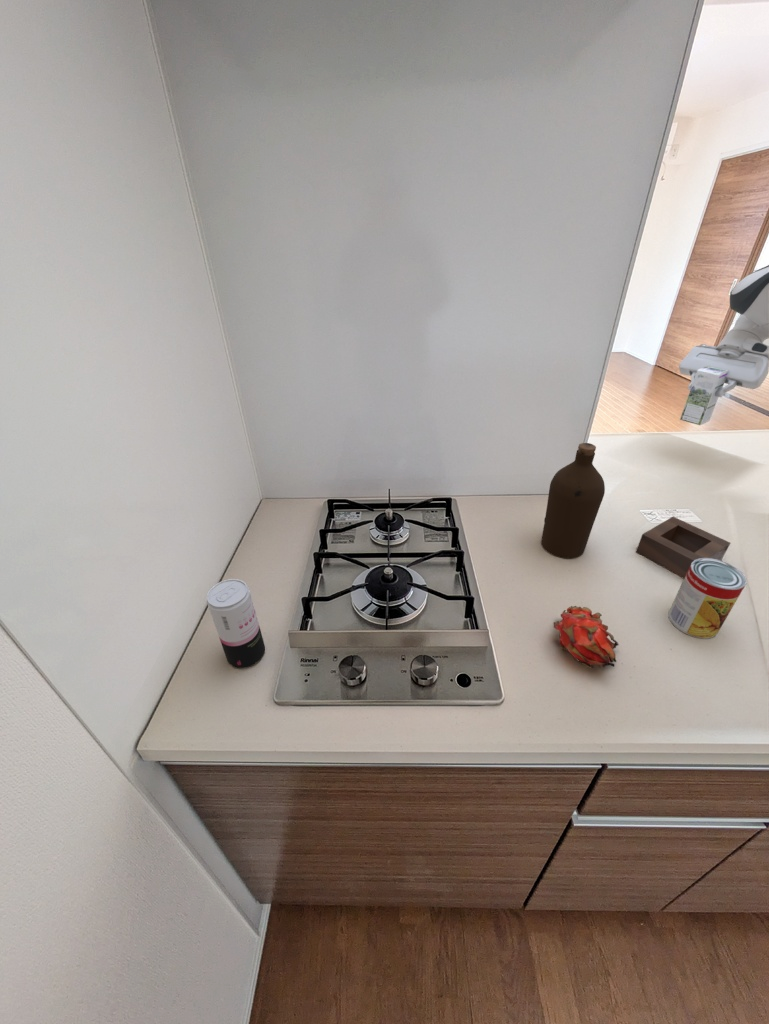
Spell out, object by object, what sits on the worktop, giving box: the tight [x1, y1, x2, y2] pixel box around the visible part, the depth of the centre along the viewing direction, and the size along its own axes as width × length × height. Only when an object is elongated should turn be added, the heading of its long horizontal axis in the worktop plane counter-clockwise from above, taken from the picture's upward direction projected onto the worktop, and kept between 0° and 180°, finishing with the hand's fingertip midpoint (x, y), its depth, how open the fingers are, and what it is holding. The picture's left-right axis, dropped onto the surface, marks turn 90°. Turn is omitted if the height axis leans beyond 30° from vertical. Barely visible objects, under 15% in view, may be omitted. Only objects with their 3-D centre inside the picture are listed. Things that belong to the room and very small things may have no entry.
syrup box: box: [679, 367, 729, 426], centre depth 121 cm, size 6×6×14 cm
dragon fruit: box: [553, 605, 621, 669], centre depth 73 cm, size 8×8×12 cm
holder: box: [635, 516, 731, 579], centre depth 94 cm, size 12×12×5 cm
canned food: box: [667, 558, 748, 639], centre depth 77 cm, size 8×8×12 cm
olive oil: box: [540, 442, 606, 559], centre depth 93 cm, size 11×11×25 cm
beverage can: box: [206, 578, 266, 669], centre depth 73 cm, size 7×6×15 cm
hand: (704, 392), depth 120 cm, fingers closed on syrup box, 6 cm apart
